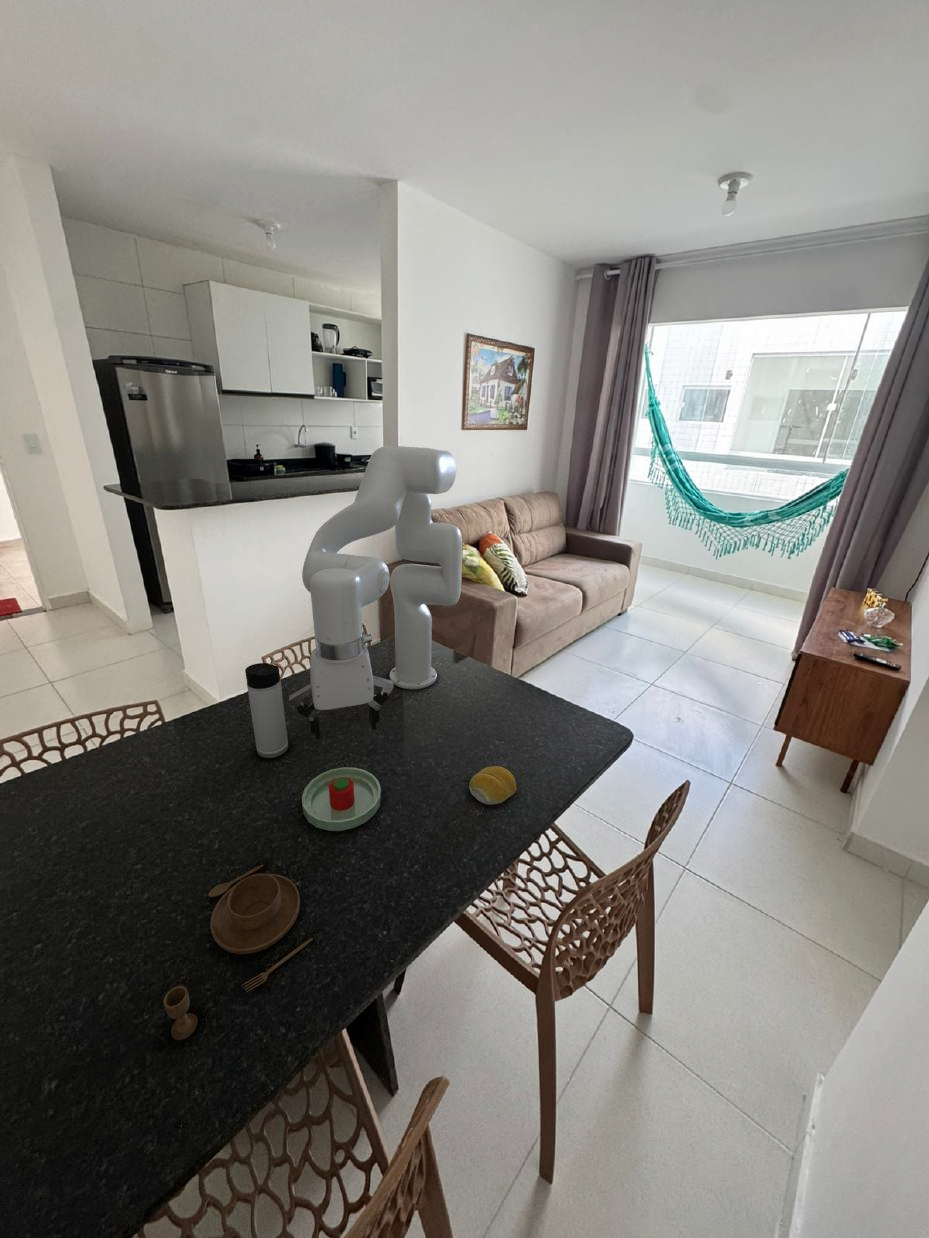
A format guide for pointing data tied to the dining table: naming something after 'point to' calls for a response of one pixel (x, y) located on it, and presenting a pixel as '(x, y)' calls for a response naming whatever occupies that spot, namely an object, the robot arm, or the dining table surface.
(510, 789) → the bread roll
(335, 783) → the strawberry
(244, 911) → the place setting
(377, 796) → the dish
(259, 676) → the travel mug
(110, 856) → the dining table surface
